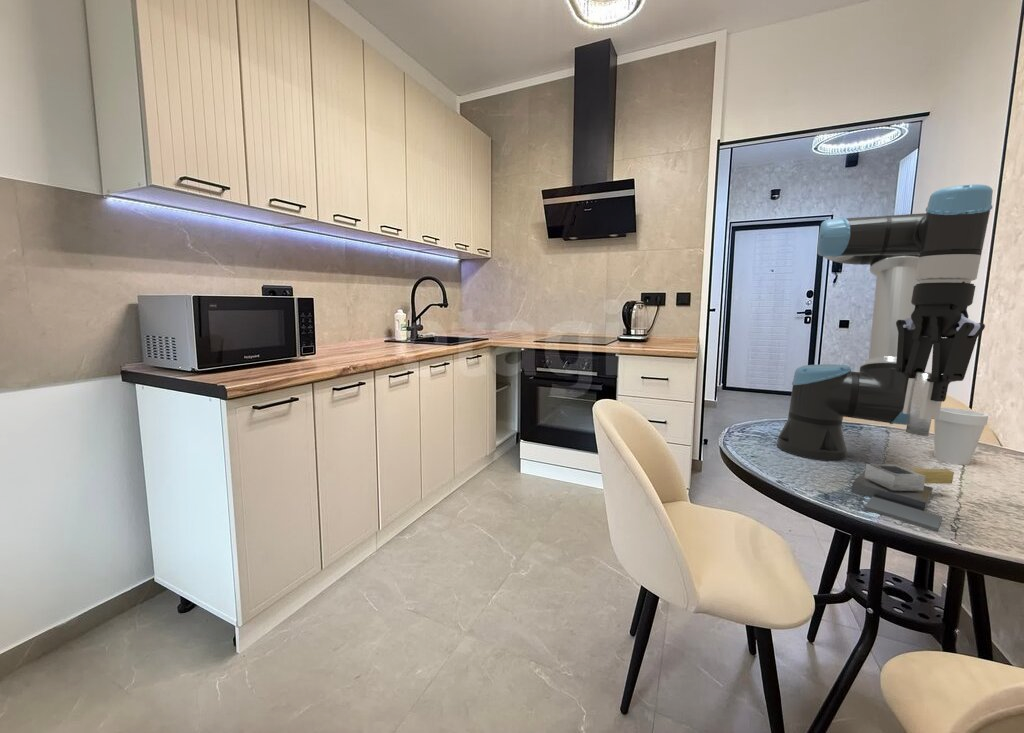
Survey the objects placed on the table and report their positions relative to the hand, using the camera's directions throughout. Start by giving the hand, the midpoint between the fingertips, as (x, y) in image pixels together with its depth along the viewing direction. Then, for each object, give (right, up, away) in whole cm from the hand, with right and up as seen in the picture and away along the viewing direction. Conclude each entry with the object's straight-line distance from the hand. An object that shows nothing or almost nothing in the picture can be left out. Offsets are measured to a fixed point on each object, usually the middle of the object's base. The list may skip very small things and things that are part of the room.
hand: (920, 415), depth 76 cm
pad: (-1, -19, +3) cm, 19 cm away
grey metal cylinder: (0, -3, +1) cm, 3 cm away
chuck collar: (+9, -15, +11) cm, 21 cm away
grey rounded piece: (+41, -16, +34) cm, 55 cm away
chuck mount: (+5, -17, +12) cm, 22 cm away
